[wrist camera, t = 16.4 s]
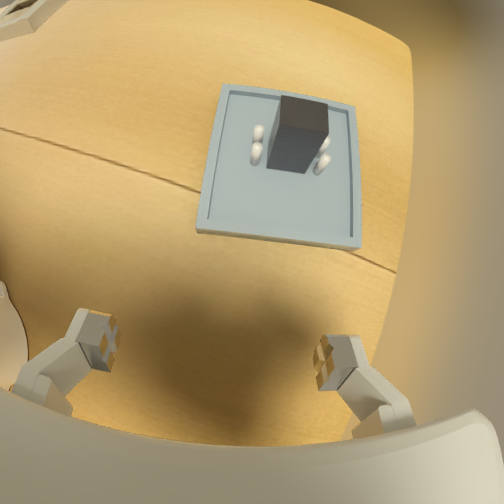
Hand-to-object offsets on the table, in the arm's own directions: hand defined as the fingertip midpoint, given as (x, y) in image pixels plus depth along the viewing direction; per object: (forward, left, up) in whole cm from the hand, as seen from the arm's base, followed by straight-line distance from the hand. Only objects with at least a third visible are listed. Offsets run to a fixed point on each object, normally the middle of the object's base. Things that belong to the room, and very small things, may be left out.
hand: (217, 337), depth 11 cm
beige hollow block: (-76, +75, -24) cm, 109 cm away
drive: (+6, +20, -22) cm, 30 cm away
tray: (+6, +20, -23) cm, 31 cm away
